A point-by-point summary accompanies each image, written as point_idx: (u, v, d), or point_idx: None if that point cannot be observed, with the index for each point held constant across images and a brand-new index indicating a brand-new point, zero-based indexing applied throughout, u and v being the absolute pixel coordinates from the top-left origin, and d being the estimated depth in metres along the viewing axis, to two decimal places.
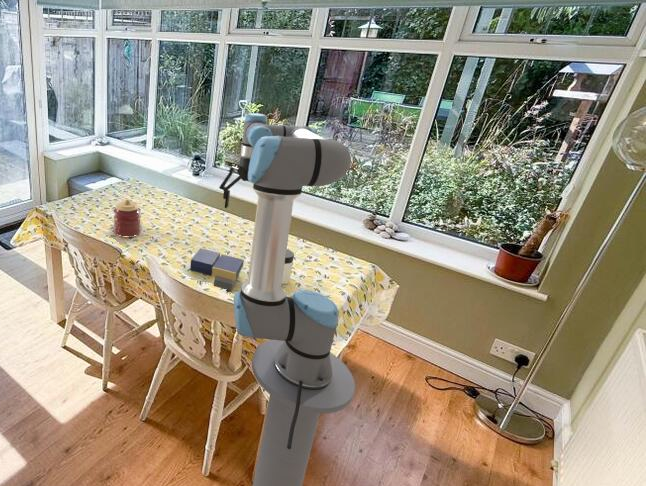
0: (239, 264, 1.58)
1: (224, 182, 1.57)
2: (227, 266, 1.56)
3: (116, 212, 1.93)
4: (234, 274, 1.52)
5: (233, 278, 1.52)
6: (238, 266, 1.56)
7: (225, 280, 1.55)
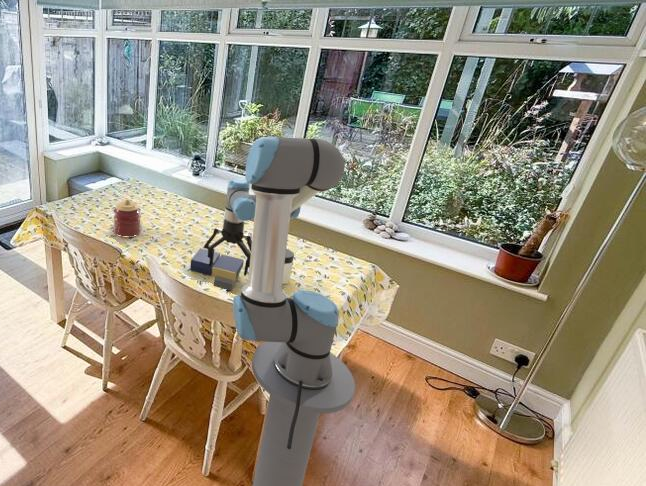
0: (239, 264, 1.58)
1: (208, 242, 1.58)
2: (227, 266, 1.56)
3: (116, 212, 1.93)
4: (234, 274, 1.52)
5: (233, 278, 1.52)
6: (238, 266, 1.56)
7: (225, 280, 1.55)
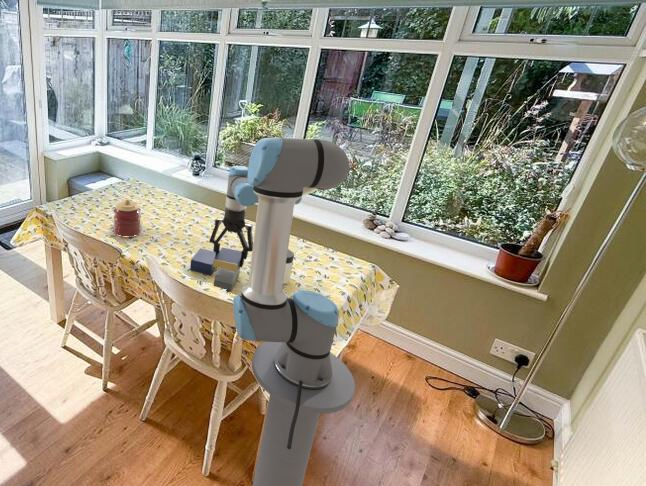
0: (240, 256, 1.56)
1: (213, 235, 1.56)
2: (228, 258, 1.54)
3: (116, 212, 1.93)
4: (235, 265, 1.50)
5: (234, 270, 1.51)
6: (239, 258, 1.55)
7: (225, 280, 1.55)
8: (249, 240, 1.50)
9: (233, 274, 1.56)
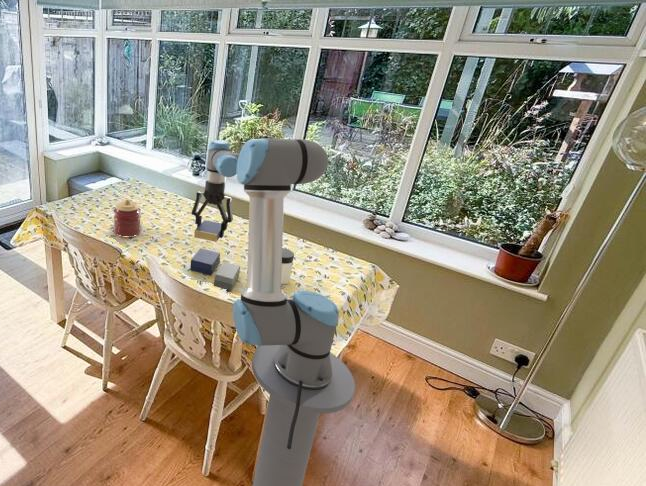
0: (220, 227, 1.64)
1: (194, 207, 1.64)
2: (209, 229, 1.62)
3: (116, 212, 1.93)
4: (215, 235, 1.58)
5: (214, 240, 1.58)
6: (219, 229, 1.62)
7: (225, 280, 1.55)
8: (228, 211, 1.58)
9: (233, 274, 1.56)
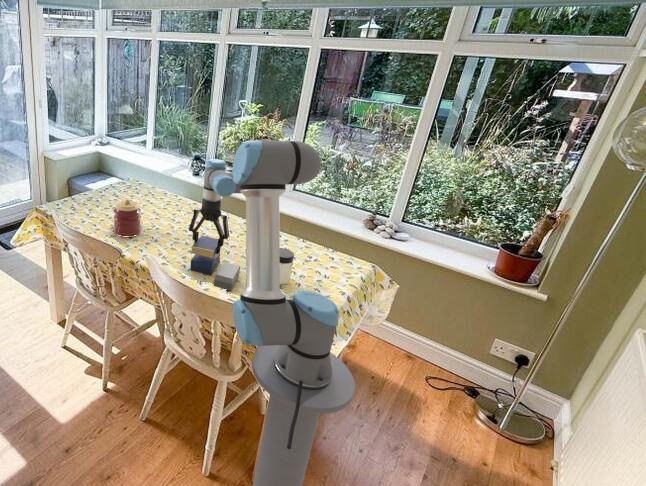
0: (217, 243, 1.67)
1: (191, 224, 1.67)
2: (206, 245, 1.65)
3: (116, 212, 1.93)
4: (212, 252, 1.61)
5: (211, 256, 1.62)
6: (216, 245, 1.66)
7: (225, 280, 1.55)
8: (225, 228, 1.61)
9: (233, 274, 1.56)
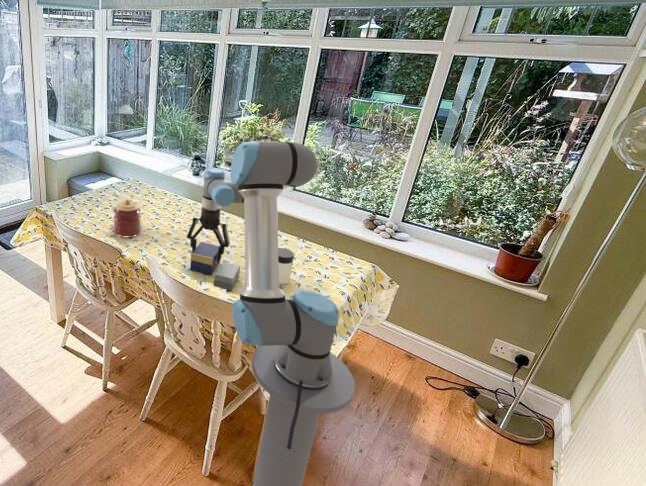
0: (216, 250, 1.68)
1: (190, 231, 1.69)
2: (205, 252, 1.66)
3: (116, 212, 1.93)
4: (211, 259, 1.62)
5: (210, 263, 1.63)
6: (215, 252, 1.67)
7: (225, 280, 1.55)
8: (225, 237, 1.62)
9: (233, 274, 1.56)
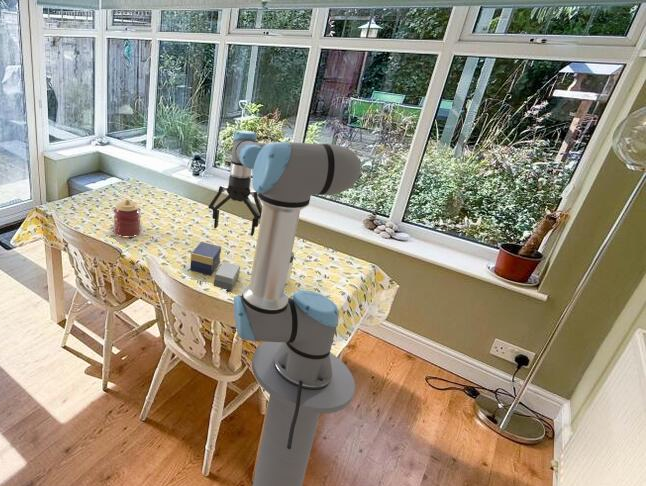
0: (216, 250, 1.68)
1: (213, 201, 1.51)
2: (205, 252, 1.66)
3: (116, 212, 1.93)
4: (211, 259, 1.62)
5: (210, 263, 1.63)
6: (215, 252, 1.67)
7: (225, 280, 1.55)
8: (258, 206, 1.44)
9: (233, 274, 1.56)
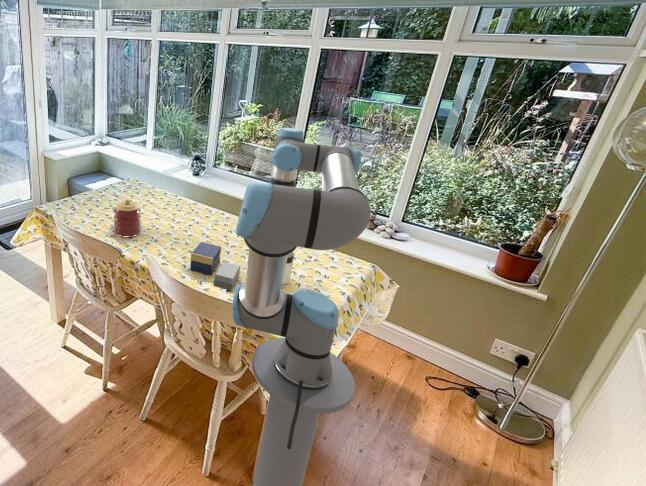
0: (216, 250, 1.68)
1: None
2: (205, 252, 1.66)
3: (116, 212, 1.93)
4: (211, 259, 1.62)
5: (210, 263, 1.63)
6: (215, 252, 1.67)
7: (225, 280, 1.55)
8: None
9: (233, 274, 1.56)
